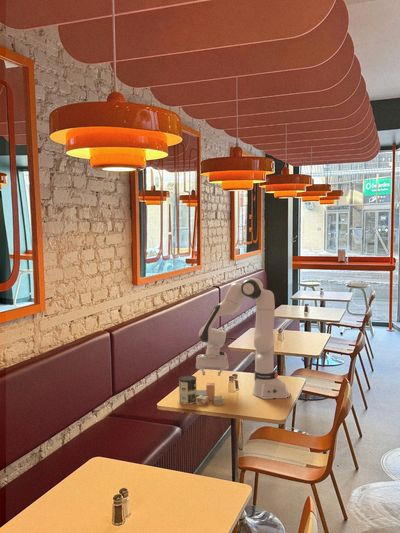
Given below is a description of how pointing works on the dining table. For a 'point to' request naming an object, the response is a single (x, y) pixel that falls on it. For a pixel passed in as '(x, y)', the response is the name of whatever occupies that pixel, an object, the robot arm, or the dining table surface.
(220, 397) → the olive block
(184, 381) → the coffee can
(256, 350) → the robot arm
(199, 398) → the mottled white pinkish lump
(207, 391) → the pillar
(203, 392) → the pad
